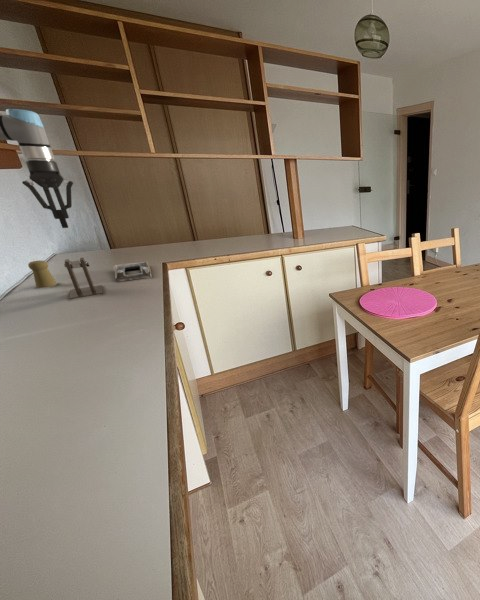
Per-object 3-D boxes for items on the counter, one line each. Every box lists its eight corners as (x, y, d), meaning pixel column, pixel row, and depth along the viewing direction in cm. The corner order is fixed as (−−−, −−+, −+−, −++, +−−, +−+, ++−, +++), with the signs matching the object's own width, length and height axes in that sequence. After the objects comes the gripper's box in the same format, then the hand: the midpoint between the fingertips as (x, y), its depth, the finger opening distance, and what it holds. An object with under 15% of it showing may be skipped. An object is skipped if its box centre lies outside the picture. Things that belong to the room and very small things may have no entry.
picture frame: (149, 266, 158) (147, 261, 157) (154, 278, 141) (152, 272, 139) (114, 271, 150) (112, 265, 149) (115, 284, 132) (113, 277, 131)
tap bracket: (71, 292, 122) (58, 258, 117) (102, 287, 128) (90, 254, 123) (70, 301, 114) (55, 264, 109) (103, 295, 120) (90, 260, 115)
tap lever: (71, 269, 124) (69, 263, 124) (89, 267, 128) (87, 261, 127) (66, 268, 114) (63, 262, 114) (86, 266, 118) (84, 259, 117)
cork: (32, 288, 125) (20, 262, 121) (51, 284, 131) (40, 258, 127) (43, 290, 124) (32, 263, 120) (62, 285, 130) (51, 259, 126)
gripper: (66, 161, 117) (88, 224, 126) (14, 159, 109) (41, 227, 118) (65, 160, 112) (88, 227, 121) (10, 159, 104) (39, 230, 113)
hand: (65, 227), depth 119 cm, fingers closed
